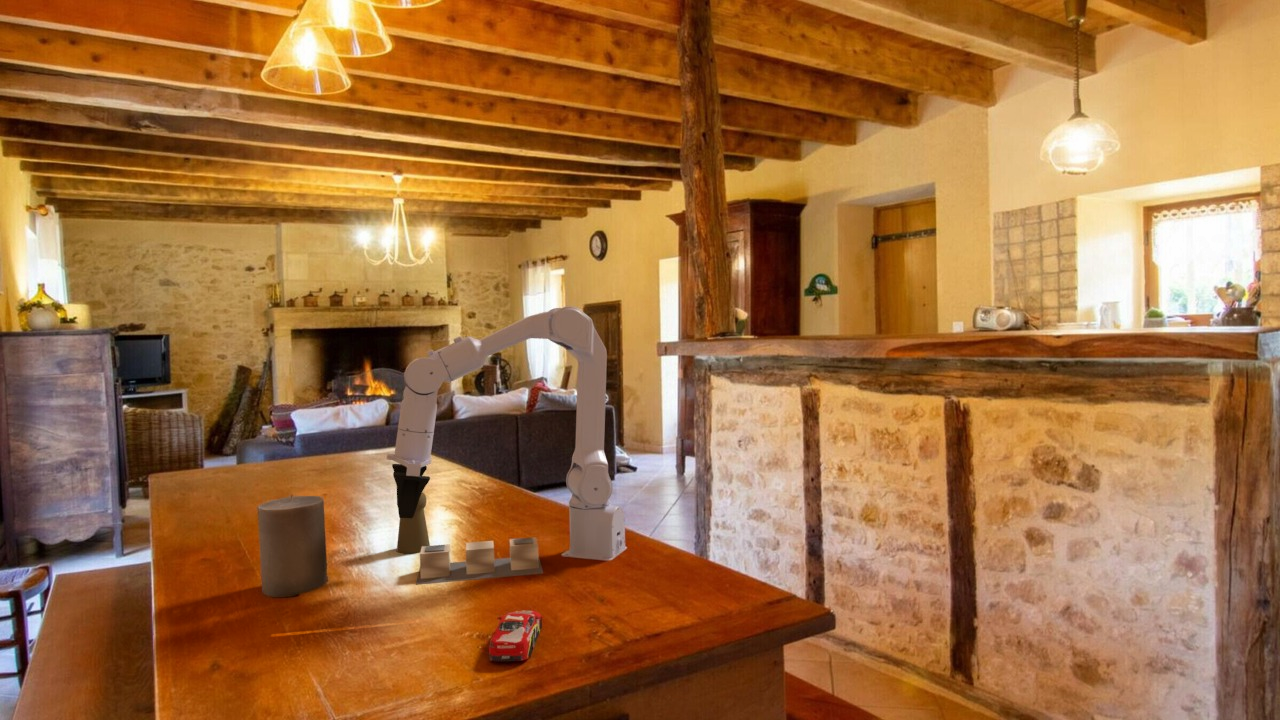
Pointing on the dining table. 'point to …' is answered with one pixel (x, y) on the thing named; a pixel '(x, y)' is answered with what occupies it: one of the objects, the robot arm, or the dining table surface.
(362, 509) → the dining table surface
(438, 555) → the marked block 1
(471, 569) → the plain block
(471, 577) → the mat
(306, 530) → the pillar candle
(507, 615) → the race car
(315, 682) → the dining table surface
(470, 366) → the robot arm
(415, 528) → the brown game pawn
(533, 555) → the marked block 2
